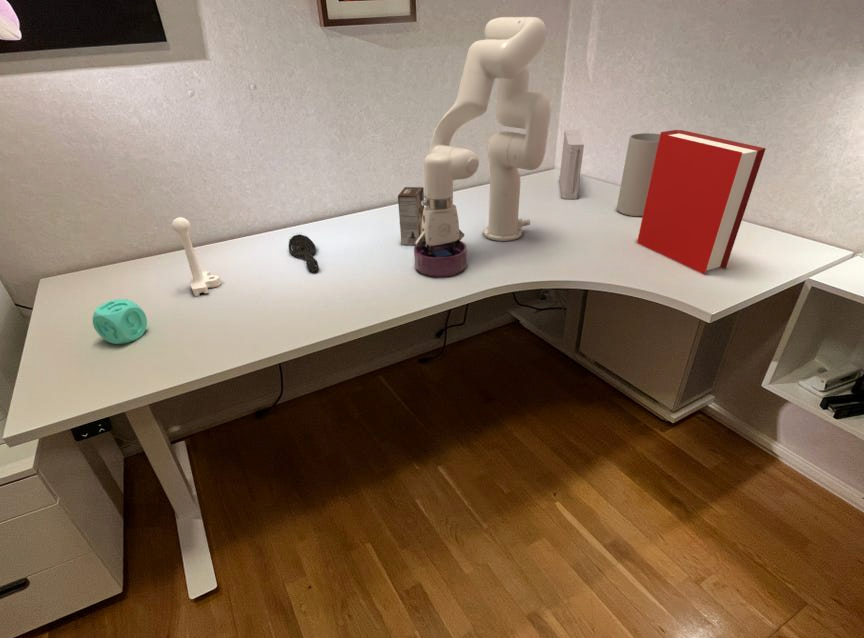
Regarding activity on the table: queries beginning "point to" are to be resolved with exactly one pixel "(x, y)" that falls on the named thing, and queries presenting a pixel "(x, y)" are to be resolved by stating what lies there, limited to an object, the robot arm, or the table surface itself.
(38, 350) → the table surface
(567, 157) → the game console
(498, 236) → the robot arm
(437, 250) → the eraser
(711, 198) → the book
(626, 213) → the cylinder vase
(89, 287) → the table surface
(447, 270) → the bowl
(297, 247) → the hairbrush
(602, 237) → the table surface
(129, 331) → the decorative dice
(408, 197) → the coffee box
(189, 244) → the joystick
